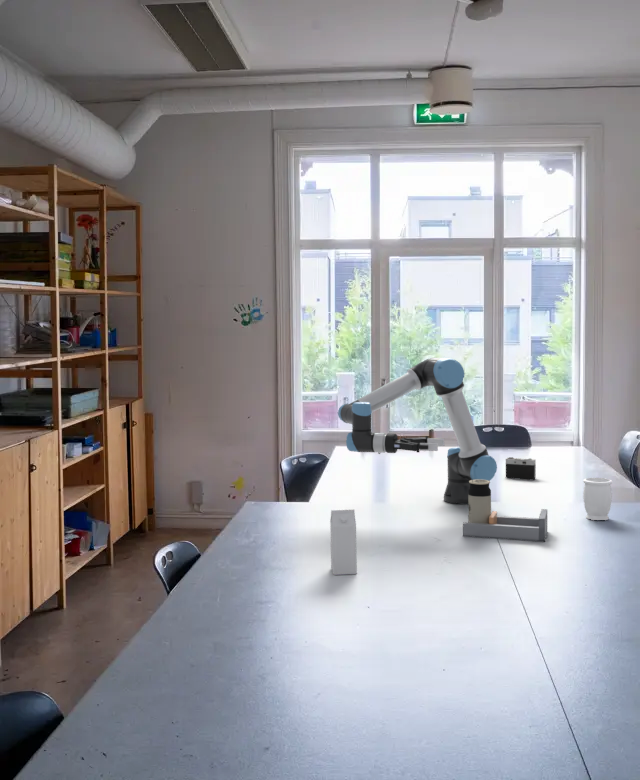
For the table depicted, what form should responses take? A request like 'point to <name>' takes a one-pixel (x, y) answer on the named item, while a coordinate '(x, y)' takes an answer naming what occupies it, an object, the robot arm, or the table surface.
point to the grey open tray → (510, 528)
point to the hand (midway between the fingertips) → (441, 444)
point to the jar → (597, 498)
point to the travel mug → (479, 501)
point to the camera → (521, 468)
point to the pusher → (493, 518)
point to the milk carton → (343, 542)
